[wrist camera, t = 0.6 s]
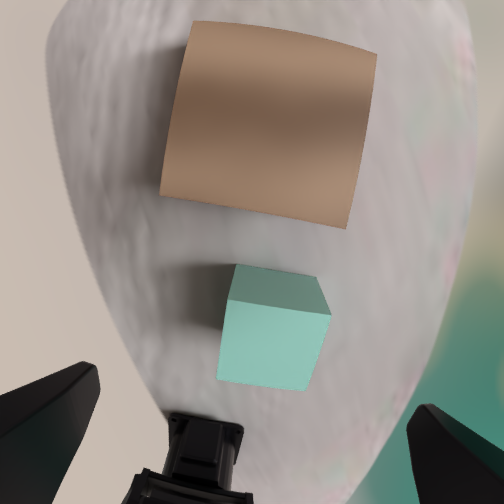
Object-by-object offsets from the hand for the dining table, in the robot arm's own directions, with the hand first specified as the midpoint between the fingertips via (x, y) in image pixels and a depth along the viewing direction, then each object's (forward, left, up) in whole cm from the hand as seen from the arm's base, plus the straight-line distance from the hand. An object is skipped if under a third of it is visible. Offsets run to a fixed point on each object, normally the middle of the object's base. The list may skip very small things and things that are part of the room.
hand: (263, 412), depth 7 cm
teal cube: (-3, -1, -12) cm, 13 cm away
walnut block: (+8, +1, -13) cm, 15 cm away
